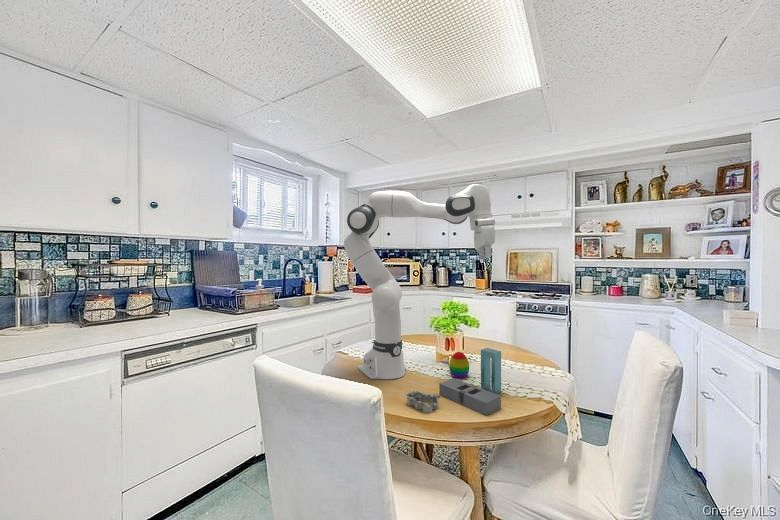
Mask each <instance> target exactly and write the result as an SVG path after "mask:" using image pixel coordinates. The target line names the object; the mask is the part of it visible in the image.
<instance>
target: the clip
mask: <svg viewBox="0 0 780 520" xmlns="http://www.w3.org/2000/svg"><path fill="white" fill-rule="evenodd" d="M480 388H481V389H484V390H487V391H488V390H489V388H490V390H491V391H490V392H492V393H495V394H497V395H499V394H500V393H502V351H500V350H498V349H492V348H490V347H486V348H481V349H480Z"/></svg>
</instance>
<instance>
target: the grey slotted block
mask: <svg viewBox="0 0 780 520" xmlns="http://www.w3.org/2000/svg"><path fill="white" fill-rule="evenodd" d="M438 387H439V396H442V397H444V398H447V399H449V400H451V401H453V402H456V403H458V404H459V405H462V406H464V407H467V408H469V409H471V410H473V411H476V412H477V411H478V412H477V413H479V412H480V414H482V415H484V414H485V415H484V416H486V415H487V416H488V414H489V415H490V413H491V414H493V413H494V412H496V411H498V410H500V409H502V396H501V395H499V394H495V393H492V392H491V391H489V390H488V389H487V390H484V389H481V387H479V386H477V385H473V384H471V383H468V382H465V381H463V380H461V379H459V378H456V377H453V378H450V379H448V380H445V381H442V382H439V385H438Z"/></svg>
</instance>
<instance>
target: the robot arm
mask: <svg viewBox="0 0 780 520" xmlns="http://www.w3.org/2000/svg"><path fill="white" fill-rule="evenodd" d="M491 207H492V202H491V197H490V192H489V189H488V187H487V186H486V185H484V184H481V183H474V184H473V183H472V184H469V185H468V186H467V187H466V188H465V189H464V190H462V191H460V192H458V193H455V194H452V195H450V196H449V197H448V198H447V199H446V202H445V203H444V204H443V203H431V202H425V201H422V200H420V199H419V198H417V197H416V196H415V195H413V194H412V193H411V192H408V191H402V190H380V191H374V192H372V193H371V194H369V197H368V199H367V203H363V204H362V205H361V204H360V205H359V206H358V207H355V208H353V209H352V210H350V212H349V213H348V215H347V218H346V223H347V226H348V228H349V229H350V230H351V232H350V234H348V235H347V236H346V237H345V238H344V240H343V247H344V250H345V252H346V254H347V256H348V258H349V260H350V262H351V263H352V265H353V267H354V268H355V270H356V272H357V273H358V274H359V276H360V278H361V279H362V281H363V282H365V283H366V284H367V286H368V287H369V288H370V289H371V291H372V295H371V302H372V310H373V317H374V339H372V341H371V344H372V348H370V350H369V351H367V352H366V353H365V354H363V360H362V361H363V363H361V364H358V366H357V369H358V370H360V372H361V373H363V374H364V375H366V376H367V377H368V378H369V379H371V380H377V379H379V380H394V379H400V378H402V377H403V376H405V375H406V369H407V366H406V365H405V359H404V351H403V350H402V349H403V339H402V321H401V312H400V301H401V299H402V297H403V290H402V287H401V285H400V284H399V283H398V281H397V280H396V278H395V277H394V276H393V274H392V273H391V272H390V271H389V269H388V268H387V267H386V266H385V264H384V263H383V261H382V259H381V258H380V256H379V254H378V253H377V252H376V251H375V249H374V246H372V244H371V242H370V239H371V238H372V237H373V235H374V234H375V232H376V231H378V229H379V227H380V222H379V221H380V219H382V218H427V219H428V218H429V219H439V220H444V221H446V222H448V223H450V224H453V225H461V224H463V223H464V222H465V221H466V220H467V219H468V217H469V226H470V230H471V231H473V232H474V233H473V244H474V245H473V246H474V249H475V251H478V254H479V259H480V260H481V261H484V260H485V259H486V258H487V259H488V258H491V257H492V253H491V252H492V245H494V244H495V242H496V232H495V224H496V219H495V217H493V213H492V211H491Z"/></svg>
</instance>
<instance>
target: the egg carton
mask: <svg viewBox="0 0 780 520" xmlns="http://www.w3.org/2000/svg"><path fill="white" fill-rule="evenodd" d="M405 396H406V398H407V399H406V400H407V402H406V403H407V405H408V406H414V408H415V409H416V410H419V409H421V410H422V413H432V412H433V410H435V409H436V410H437V409H439V400H440V399H441V395H438V394H435V393H433V394H431V393H430V394H428V393H426V392H421V391H419V390H413V391H411V392H408V393H405ZM427 402H428V403H427ZM425 403H427V404H425Z"/></svg>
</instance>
